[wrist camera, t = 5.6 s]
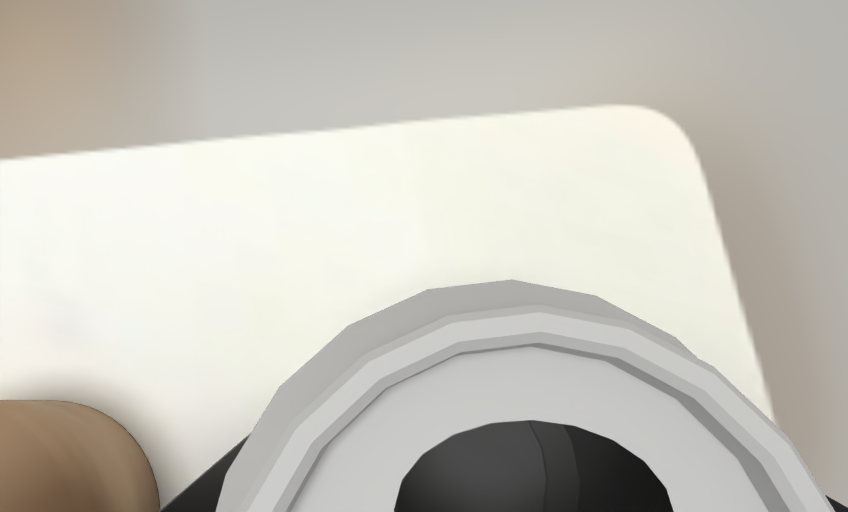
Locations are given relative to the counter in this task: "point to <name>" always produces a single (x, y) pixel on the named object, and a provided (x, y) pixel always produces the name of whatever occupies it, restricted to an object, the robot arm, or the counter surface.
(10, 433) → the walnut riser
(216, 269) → the counter surface
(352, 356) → the can
